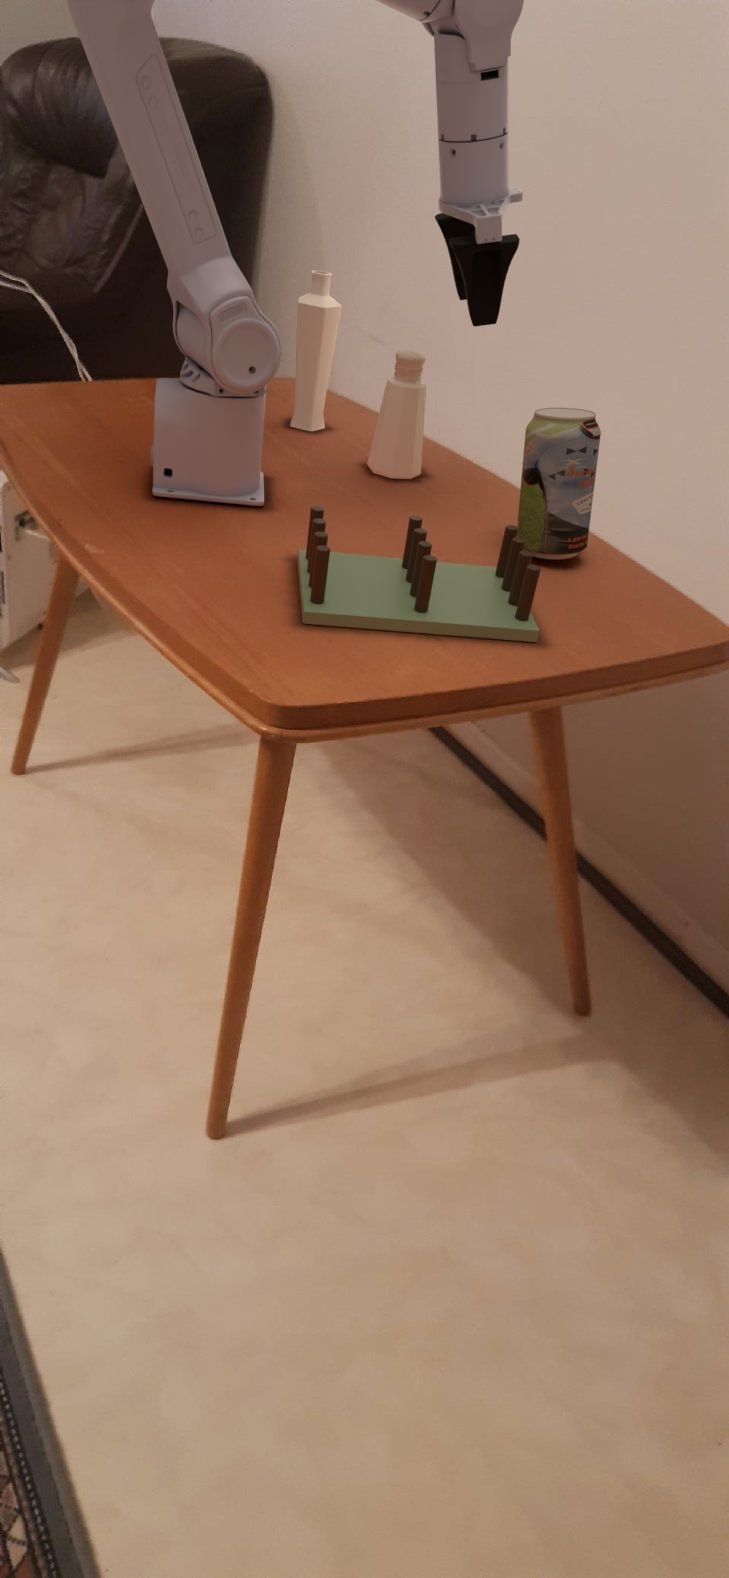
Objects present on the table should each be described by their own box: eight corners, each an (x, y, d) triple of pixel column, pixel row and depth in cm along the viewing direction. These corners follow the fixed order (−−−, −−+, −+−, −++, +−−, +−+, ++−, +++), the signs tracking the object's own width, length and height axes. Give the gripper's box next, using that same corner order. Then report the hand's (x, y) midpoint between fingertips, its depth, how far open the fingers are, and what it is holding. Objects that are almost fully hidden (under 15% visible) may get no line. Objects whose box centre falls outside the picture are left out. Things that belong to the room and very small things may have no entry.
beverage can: (566, 575, 85) (604, 430, 78) (488, 548, 88) (518, 405, 81) (593, 556, 90) (632, 416, 83) (518, 530, 92) (549, 393, 86)
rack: (302, 624, 71) (309, 556, 69) (296, 560, 80) (303, 498, 78) (537, 642, 74) (553, 578, 71) (506, 579, 83) (519, 519, 80)
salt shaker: (355, 464, 102) (370, 346, 96) (397, 459, 105) (414, 345, 99) (389, 482, 99) (407, 362, 92) (431, 477, 102) (451, 360, 95)
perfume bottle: (327, 434, 108) (344, 280, 100) (286, 429, 108) (299, 273, 100) (329, 422, 112) (346, 272, 104) (289, 417, 112) (302, 265, 103)
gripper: (540, 145, 78) (537, 330, 87) (505, 114, 89) (506, 282, 98) (448, 157, 78) (455, 341, 87) (424, 124, 89) (433, 291, 98)
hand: (477, 310), depth 92 cm, fingers open, 7 cm apart
